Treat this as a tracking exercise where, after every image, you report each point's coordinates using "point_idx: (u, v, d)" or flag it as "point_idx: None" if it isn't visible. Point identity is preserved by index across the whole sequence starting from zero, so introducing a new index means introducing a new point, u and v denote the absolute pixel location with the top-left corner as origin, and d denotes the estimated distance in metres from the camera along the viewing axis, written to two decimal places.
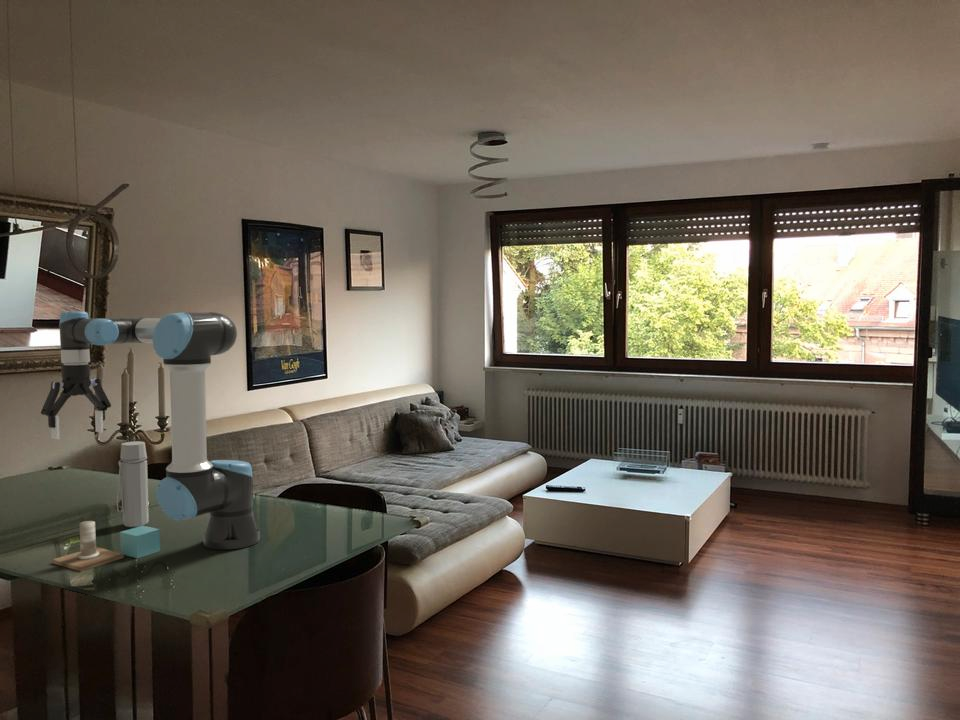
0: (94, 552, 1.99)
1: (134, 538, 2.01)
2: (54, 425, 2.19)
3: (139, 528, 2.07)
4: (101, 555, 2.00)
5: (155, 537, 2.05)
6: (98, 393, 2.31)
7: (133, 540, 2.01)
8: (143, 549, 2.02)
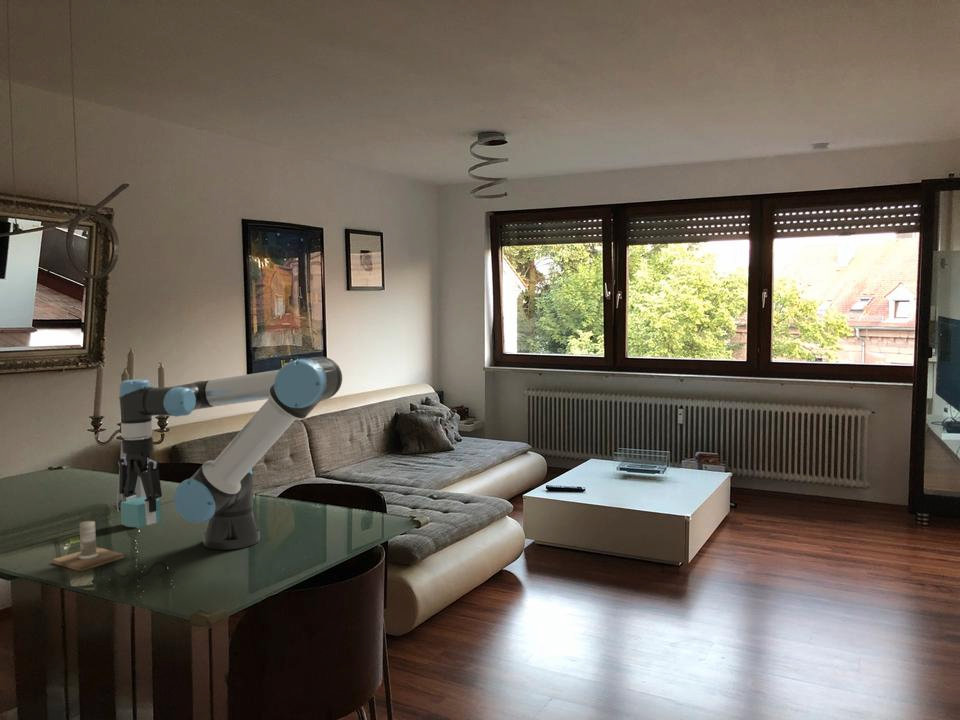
0: (94, 552, 1.99)
1: (135, 508, 2.00)
2: None
3: (140, 499, 2.06)
4: (101, 555, 2.00)
5: (156, 507, 2.05)
6: None
7: (134, 510, 2.01)
8: (144, 519, 2.02)
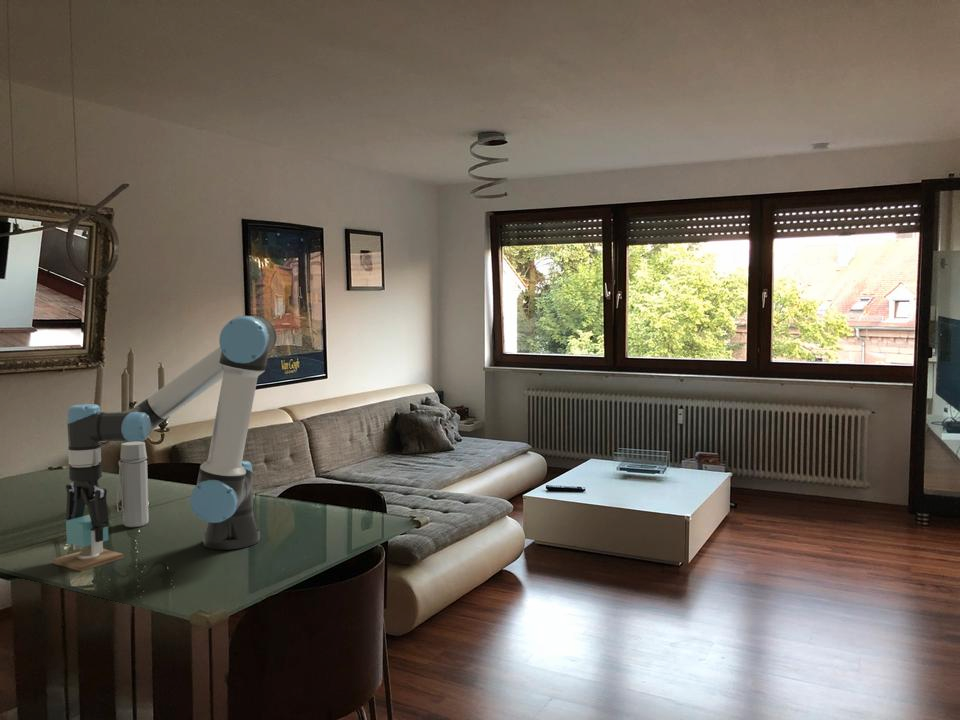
0: None
1: (80, 526, 1.94)
2: None
3: (86, 517, 2.00)
4: (101, 555, 2.00)
5: None
6: None
7: (79, 528, 1.94)
8: (90, 538, 1.95)
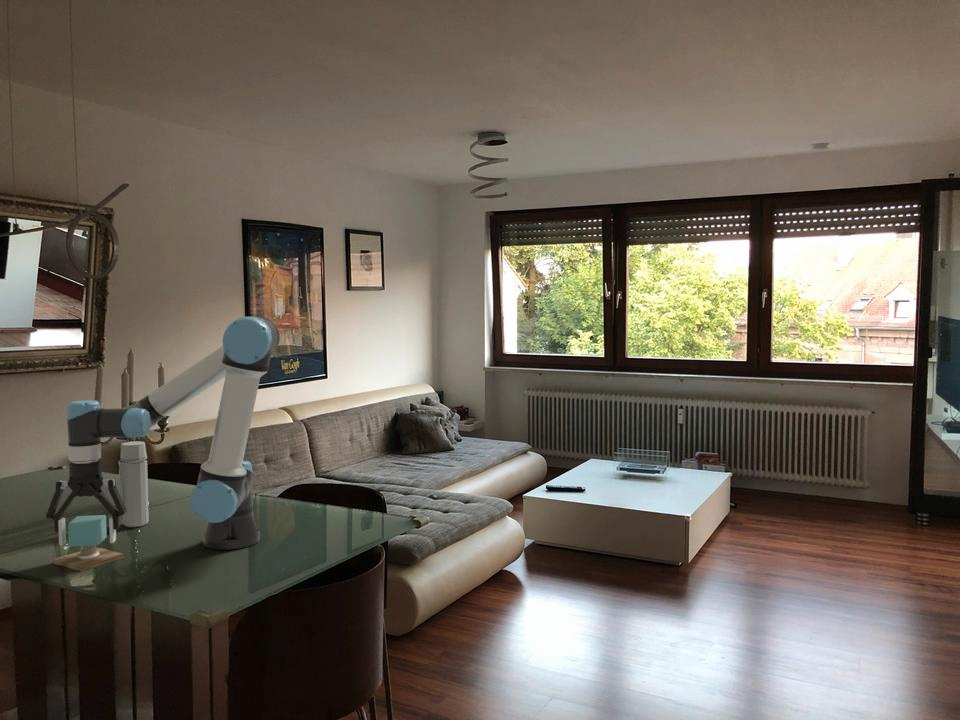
0: (94, 552, 1.99)
1: (93, 525, 1.95)
2: (58, 530, 1.97)
3: (82, 518, 1.99)
4: (101, 555, 2.00)
5: (104, 523, 2.01)
6: None
7: (91, 527, 1.95)
8: (100, 536, 1.98)
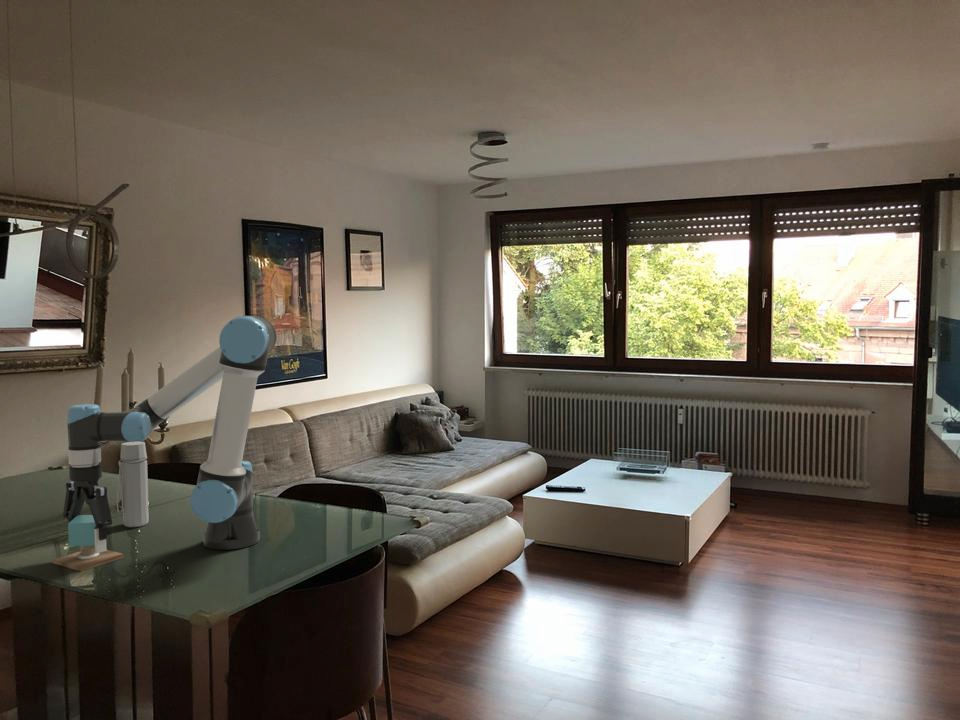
0: (94, 552, 1.99)
1: (93, 525, 1.95)
2: None
3: (82, 517, 1.99)
4: (101, 555, 2.00)
5: None
6: None
7: (91, 528, 1.95)
8: None
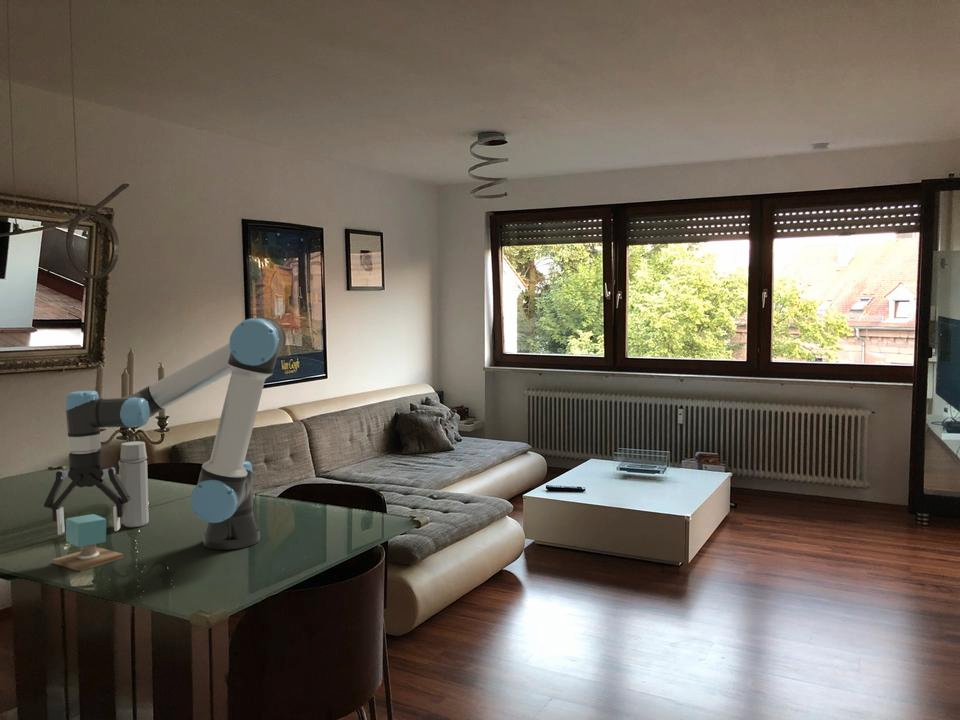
0: (94, 552, 1.99)
1: (102, 522, 1.98)
2: (57, 519, 1.96)
3: (78, 519, 1.98)
4: (101, 555, 2.00)
5: None
6: None
7: (100, 525, 1.98)
8: None
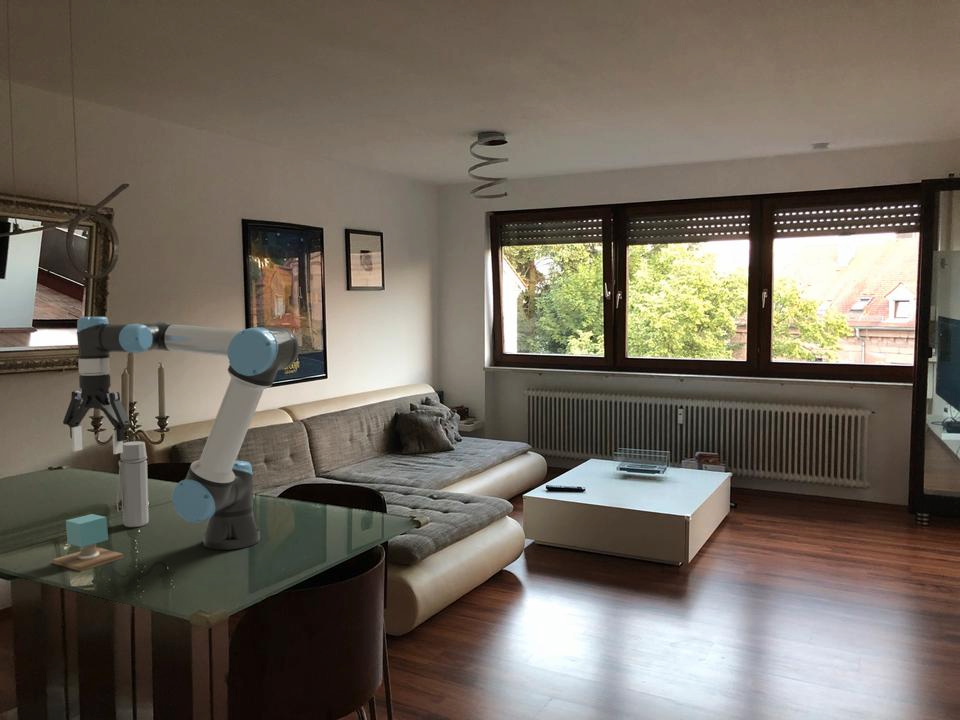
0: (94, 552, 1.99)
1: (103, 521, 1.98)
2: None
3: (78, 519, 1.97)
4: (101, 555, 2.00)
5: None
6: None
7: (101, 523, 1.98)
8: None
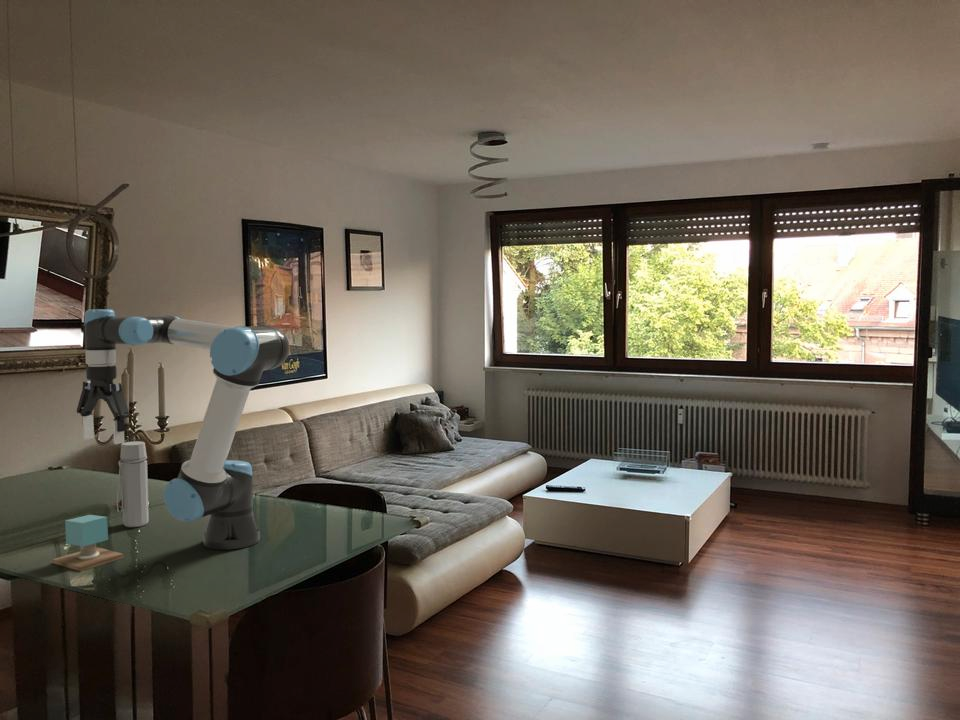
0: (94, 552, 1.99)
1: (103, 520, 1.99)
2: None
3: (78, 519, 1.97)
4: (101, 555, 2.00)
5: None
6: None
7: (102, 523, 1.98)
8: None
